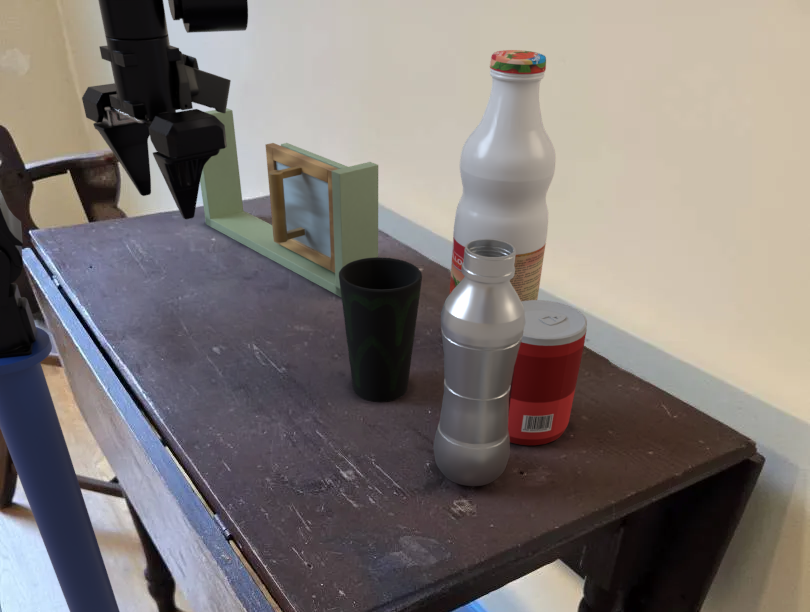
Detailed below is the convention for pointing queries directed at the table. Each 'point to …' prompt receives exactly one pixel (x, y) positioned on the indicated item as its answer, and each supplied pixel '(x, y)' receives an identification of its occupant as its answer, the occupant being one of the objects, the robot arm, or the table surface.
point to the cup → (380, 324)
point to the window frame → (226, 215)
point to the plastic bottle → (479, 365)
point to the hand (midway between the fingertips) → (166, 206)
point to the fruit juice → (508, 172)
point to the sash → (301, 204)
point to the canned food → (545, 372)
